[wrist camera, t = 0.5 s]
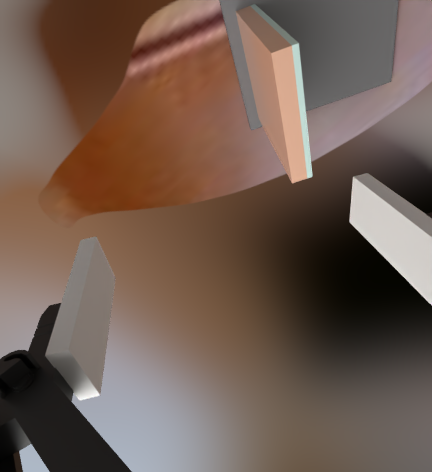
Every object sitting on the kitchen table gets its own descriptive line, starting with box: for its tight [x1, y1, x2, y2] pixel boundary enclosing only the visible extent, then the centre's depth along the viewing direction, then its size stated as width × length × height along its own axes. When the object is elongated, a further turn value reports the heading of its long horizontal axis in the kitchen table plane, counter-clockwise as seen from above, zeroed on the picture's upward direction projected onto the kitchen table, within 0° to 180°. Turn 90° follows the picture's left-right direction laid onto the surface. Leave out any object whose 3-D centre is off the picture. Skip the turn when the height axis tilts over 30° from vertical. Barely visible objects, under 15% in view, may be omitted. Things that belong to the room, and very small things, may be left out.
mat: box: [219, 0, 398, 130], centre depth 36 cm, size 18×16×1 cm
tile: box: [236, 4, 312, 183], centre depth 32 cm, size 2×12×14 cm, turn 17°
